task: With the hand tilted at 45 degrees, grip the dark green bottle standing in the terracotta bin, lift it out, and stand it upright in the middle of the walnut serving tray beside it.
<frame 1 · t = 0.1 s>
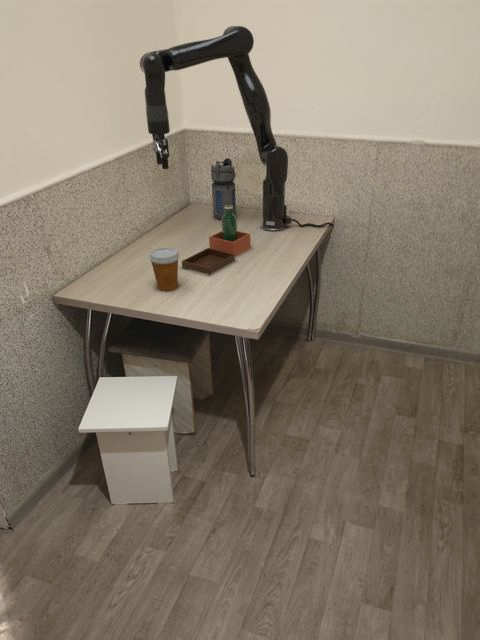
hand: (162, 166, 187), 29 cm above the table, tool pointing down, fingers open, 8 cm apart
beverage bottle: (225, 217, 231), on the table
tray: (209, 264, 184), on the table
disposable coffee cup: (167, 287, 169), on the table
bin: (230, 250, 196), on the table
bottle: (230, 249, 196), resting on bin
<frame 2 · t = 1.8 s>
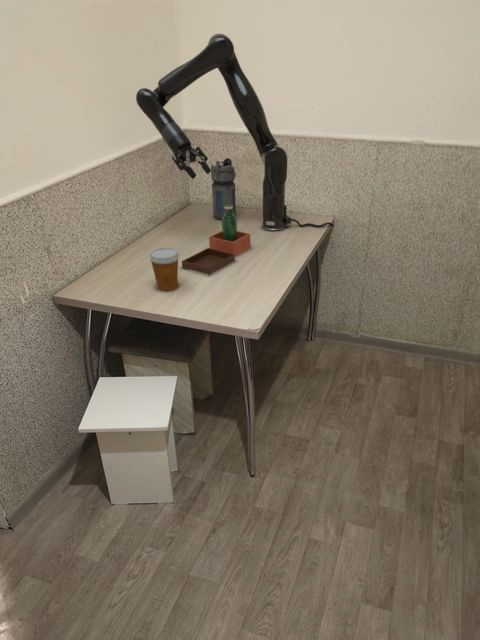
hand: (202, 174, 187), 27 cm above the table, tool tilted 45°, fingers open, 8 cm apart
nothing on the table moved.
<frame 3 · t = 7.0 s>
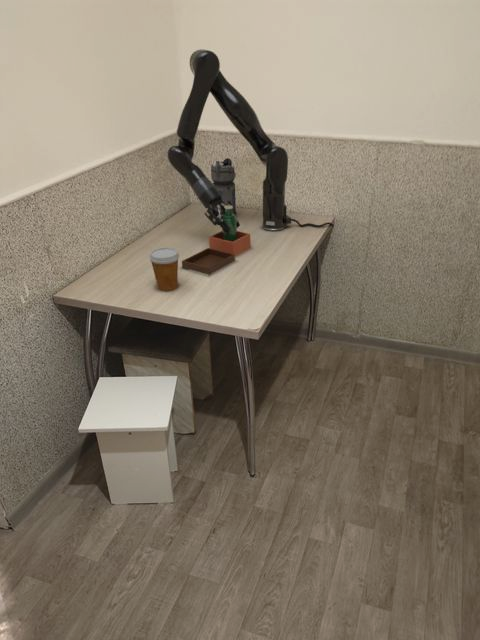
hand: (233, 229, 191), 9 cm above the table, tool tilted 45°, fingers closed on bottle, 5 cm apart
bottle: (230, 249, 196), resting on bin, touching gripper
everything else where it was.
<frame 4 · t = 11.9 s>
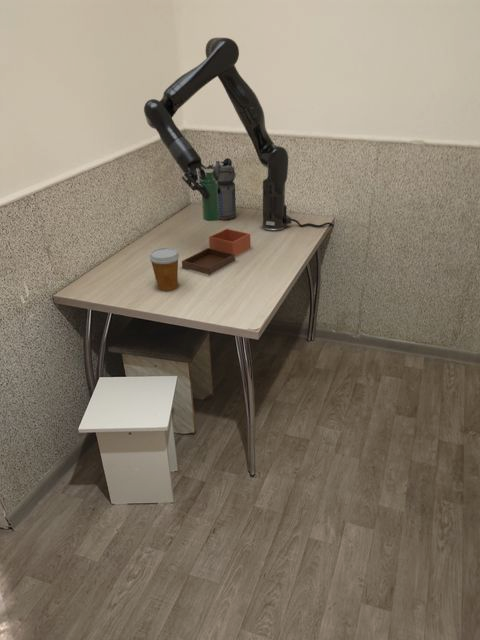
hand: (214, 195, 173), 24 cm above the table, tool tilted 45°, fingers closed on bottle, 5 cm apart
bottle: (211, 218, 179), point 16 cm above the table, touching gripper
everything else where it was.
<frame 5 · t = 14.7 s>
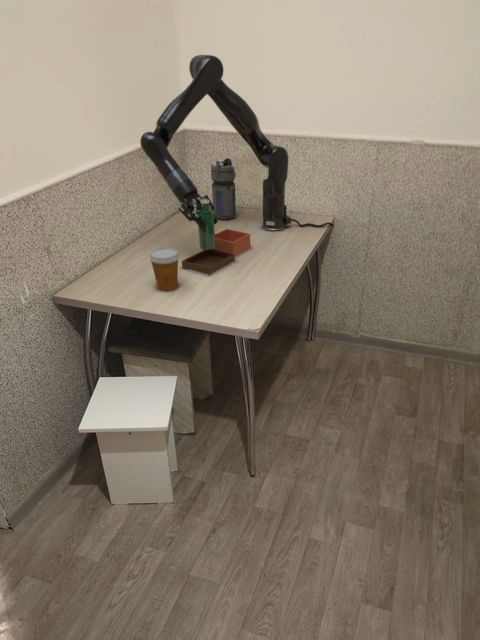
hand: (210, 225, 175), 15 cm above the table, tool tilted 45°, fingers closed on bottle, 5 cm apart
bottle: (207, 247, 181), point 7 cm above the table, touching gripper
everything else where it was.
when the fingers open (9 cm above the table, at t = 16.9 s): bottle stays where it is, resting on tray.
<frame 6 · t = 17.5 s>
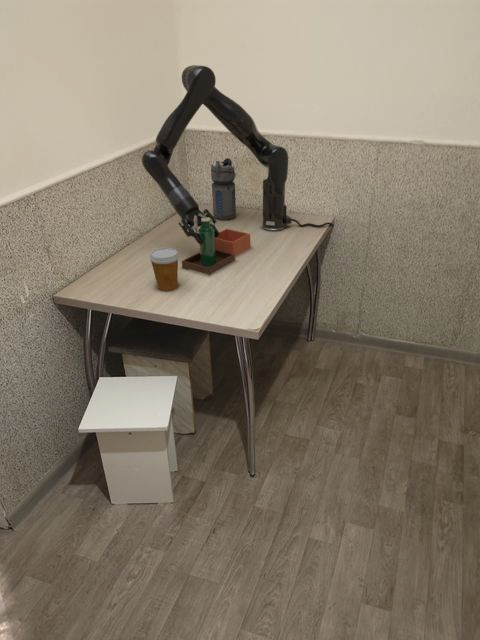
hand: (210, 239, 178), 10 cm above the table, tool tilted 45°, fingers open, 8 cm apart
bottle: (208, 263, 184), resting on tray
everything else where it was.
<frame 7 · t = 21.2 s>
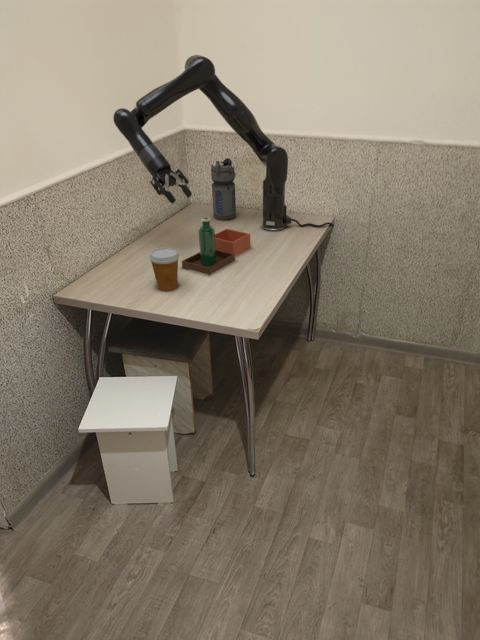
hand: (182, 199, 179), 22 cm above the table, tool tilted 45°, fingers open, 8 cm apart
nothing on the table moved.
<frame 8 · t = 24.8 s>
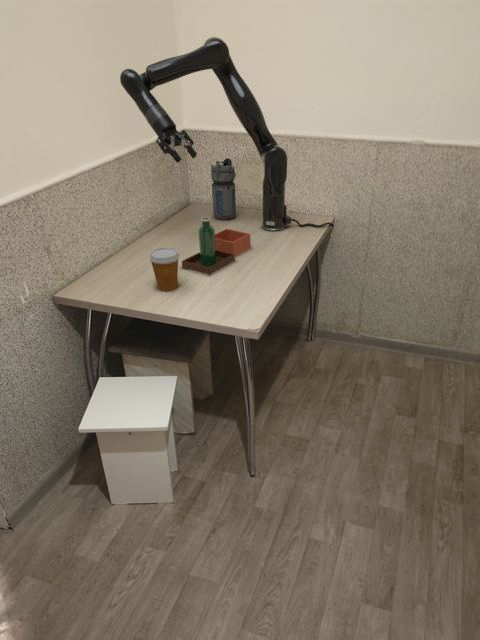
hand: (187, 158, 183), 33 cm above the table, tool tilted 45°, fingers open, 8 cm apart
nothing on the table moved.
at the end: bottle 0.1 cm off-centre in the tray, point 0.5 cm above the tray's base; bottle tilted 0°; the gripper is holding nothing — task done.
